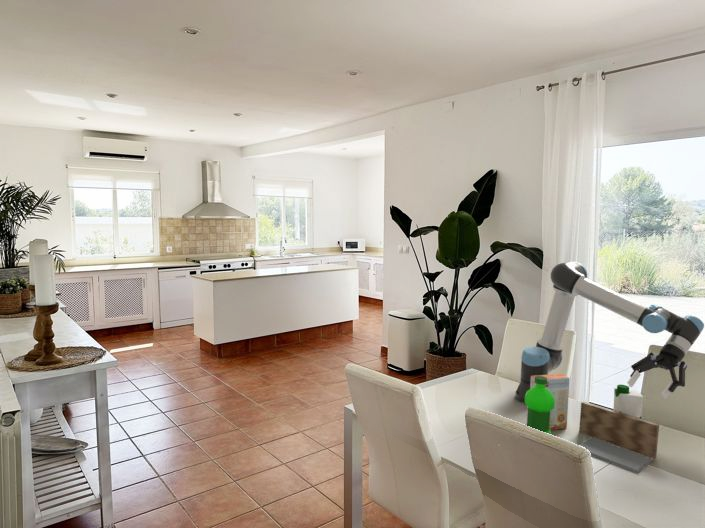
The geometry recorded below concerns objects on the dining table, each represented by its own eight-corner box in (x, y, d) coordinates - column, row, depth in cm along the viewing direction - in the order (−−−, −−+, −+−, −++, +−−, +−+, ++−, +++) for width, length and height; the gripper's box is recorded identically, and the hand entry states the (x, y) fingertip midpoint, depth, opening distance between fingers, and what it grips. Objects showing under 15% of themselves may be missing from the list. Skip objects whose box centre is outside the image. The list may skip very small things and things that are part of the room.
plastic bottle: (546, 453, 166) (551, 384, 163) (517, 443, 172) (521, 377, 170) (556, 443, 173) (560, 378, 171) (527, 434, 180) (531, 371, 178)
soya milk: (608, 431, 185) (612, 381, 184) (633, 433, 184) (637, 384, 182) (616, 441, 177) (620, 389, 175) (642, 444, 175) (647, 392, 173)
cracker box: (557, 422, 192) (560, 372, 190) (567, 429, 186) (570, 377, 184) (526, 425, 189) (530, 374, 187) (536, 431, 183) (539, 379, 181)
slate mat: (576, 449, 169) (576, 446, 169) (592, 439, 178) (592, 437, 178) (637, 473, 154) (637, 470, 154) (651, 461, 162) (651, 458, 162)
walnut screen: (579, 432, 184) (581, 402, 183) (581, 430, 185) (583, 401, 184) (654, 458, 164) (657, 425, 163) (656, 457, 165) (659, 424, 164)
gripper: (713, 364, 175) (682, 408, 171) (648, 347, 198) (620, 386, 194) (705, 351, 172) (674, 396, 168) (641, 335, 195) (612, 374, 191)
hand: (645, 390), depth 181 cm, fingers open, 13 cm apart
